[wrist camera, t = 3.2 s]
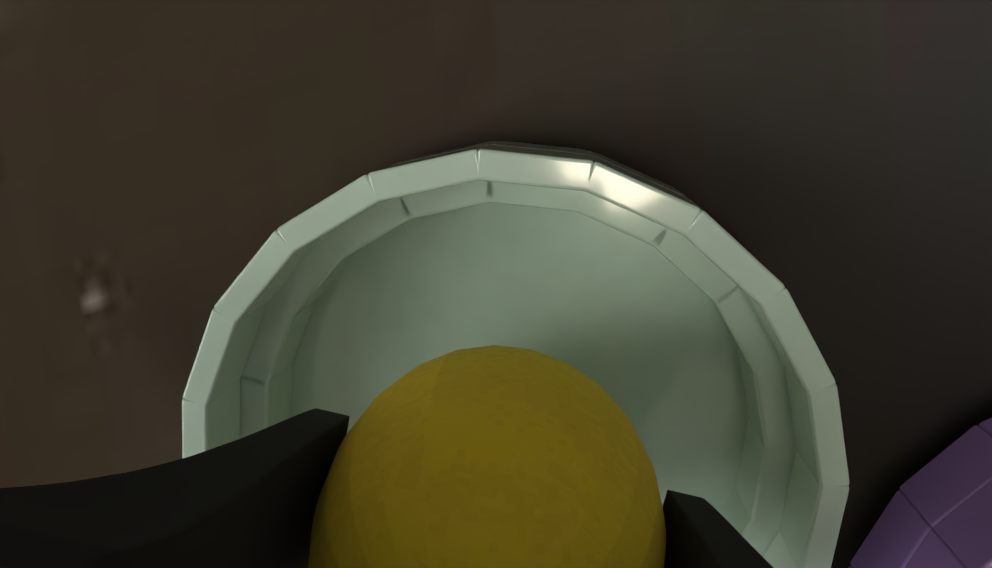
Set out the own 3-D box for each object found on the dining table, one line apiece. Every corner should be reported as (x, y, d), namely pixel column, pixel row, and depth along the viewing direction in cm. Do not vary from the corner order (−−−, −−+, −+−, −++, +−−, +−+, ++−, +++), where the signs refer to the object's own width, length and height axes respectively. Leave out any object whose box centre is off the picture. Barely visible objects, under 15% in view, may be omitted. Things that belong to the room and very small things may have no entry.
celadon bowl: (532, 732, 18) (524, 861, 15) (154, 422, 17) (63, 492, 14) (914, 408, 15) (1001, 486, 12) (489, 14, 14) (467, -10, 11)
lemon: (373, 511, 17) (203, 857, 9) (401, 276, 15) (230, 449, 8) (614, 557, 16) (653, 957, 9) (665, 322, 15) (764, 549, 7)
